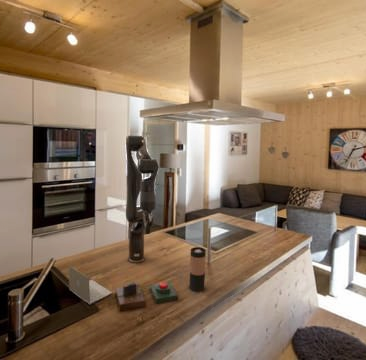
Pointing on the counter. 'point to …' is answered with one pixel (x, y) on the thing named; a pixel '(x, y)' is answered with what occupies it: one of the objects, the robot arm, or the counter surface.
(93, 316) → the counter surface
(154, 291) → the button block
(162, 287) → the red button
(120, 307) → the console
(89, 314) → the counter surface
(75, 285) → the laptop
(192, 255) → the travel mug
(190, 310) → the counter surface
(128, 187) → the robot arm
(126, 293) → the grip knob
